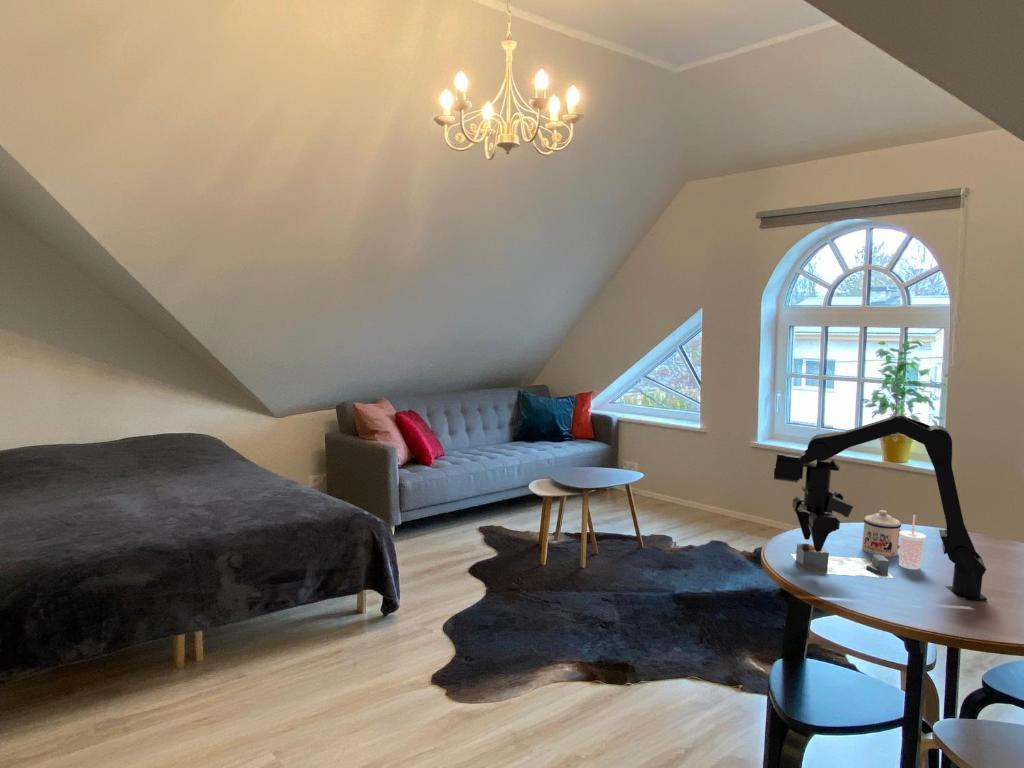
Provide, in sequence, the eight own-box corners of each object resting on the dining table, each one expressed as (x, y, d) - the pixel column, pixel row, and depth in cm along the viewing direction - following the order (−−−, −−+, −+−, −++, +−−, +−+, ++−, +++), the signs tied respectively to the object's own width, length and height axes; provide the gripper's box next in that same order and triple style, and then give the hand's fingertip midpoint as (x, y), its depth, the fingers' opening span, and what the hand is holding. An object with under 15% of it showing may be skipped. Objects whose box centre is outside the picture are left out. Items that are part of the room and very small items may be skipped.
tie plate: (893, 580, 182) (895, 566, 181) (805, 574, 184) (806, 560, 183) (873, 561, 194) (874, 547, 194) (790, 556, 196) (791, 543, 196)
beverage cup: (926, 573, 187) (931, 519, 185) (899, 571, 188) (905, 517, 186) (918, 565, 193) (923, 512, 191) (892, 562, 194) (897, 510, 192)
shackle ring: (827, 570, 185) (828, 552, 185) (802, 568, 186) (804, 551, 185) (819, 561, 191) (821, 544, 191) (795, 560, 192) (797, 543, 191)
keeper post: (815, 566, 188) (817, 547, 187) (808, 566, 188) (810, 547, 187) (813, 564, 189) (815, 545, 189) (807, 563, 189) (808, 544, 189)
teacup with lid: (857, 553, 200) (861, 511, 199) (864, 544, 208) (868, 504, 206) (907, 564, 193) (911, 520, 192) (913, 554, 201) (917, 512, 199)
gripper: (864, 497, 176) (859, 560, 178) (838, 477, 195) (832, 535, 197) (816, 494, 177) (810, 557, 179) (794, 475, 196) (789, 532, 198)
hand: (812, 545), depth 188 cm, fingers open, 9 cm apart
